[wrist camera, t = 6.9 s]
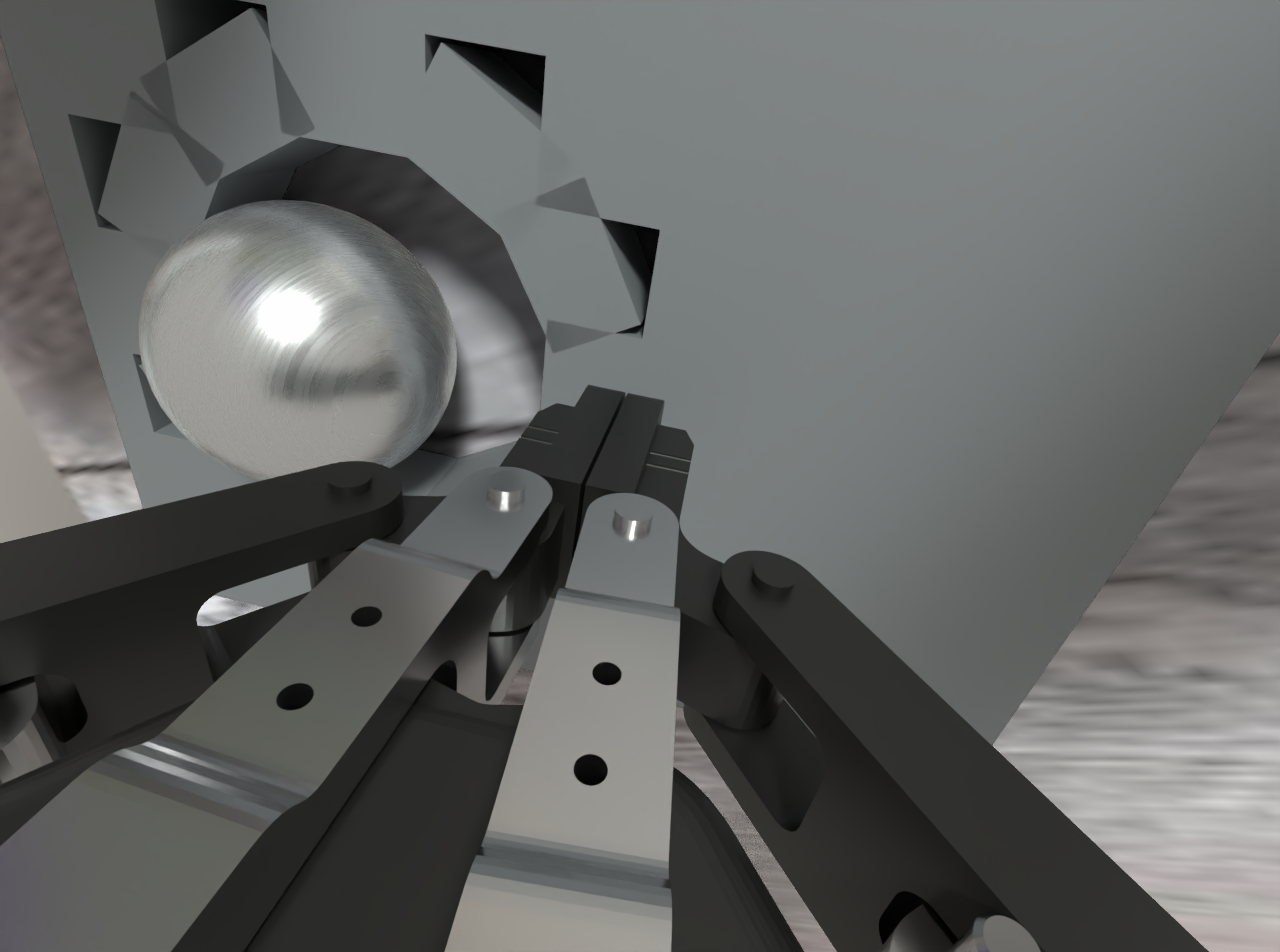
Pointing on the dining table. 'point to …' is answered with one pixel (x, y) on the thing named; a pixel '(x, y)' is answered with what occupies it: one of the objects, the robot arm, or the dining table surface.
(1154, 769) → the dining table surface
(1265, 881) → the dining table surface
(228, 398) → the ball
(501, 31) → the grey gear-hole plate
